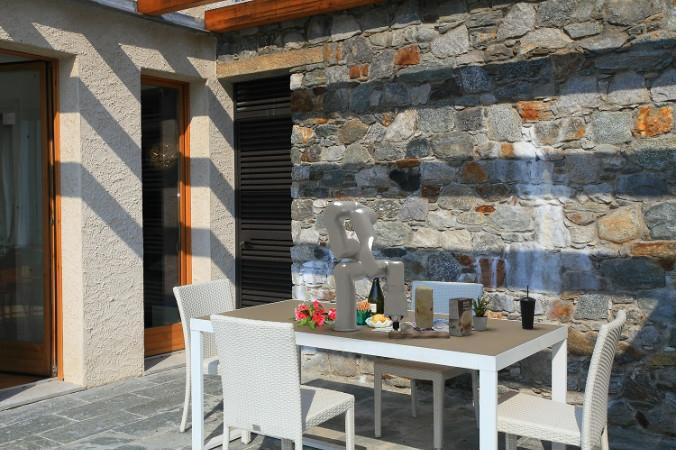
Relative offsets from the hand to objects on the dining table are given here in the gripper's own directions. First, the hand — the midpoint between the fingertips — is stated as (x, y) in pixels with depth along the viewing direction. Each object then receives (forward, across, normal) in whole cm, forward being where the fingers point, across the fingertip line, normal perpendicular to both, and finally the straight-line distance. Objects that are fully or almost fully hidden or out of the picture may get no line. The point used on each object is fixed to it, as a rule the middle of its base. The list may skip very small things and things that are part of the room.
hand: (396, 330), depth 324 cm
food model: (+3, +14, +18) cm, 23 cm away
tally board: (+3, +10, 0) cm, 10 cm away
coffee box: (+3, +29, +4) cm, 29 cm away
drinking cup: (+3, +62, +18) cm, 64 cm away
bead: (+1, +5, 0) cm, 5 cm away
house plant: (+3, +40, +14) cm, 43 cm away
